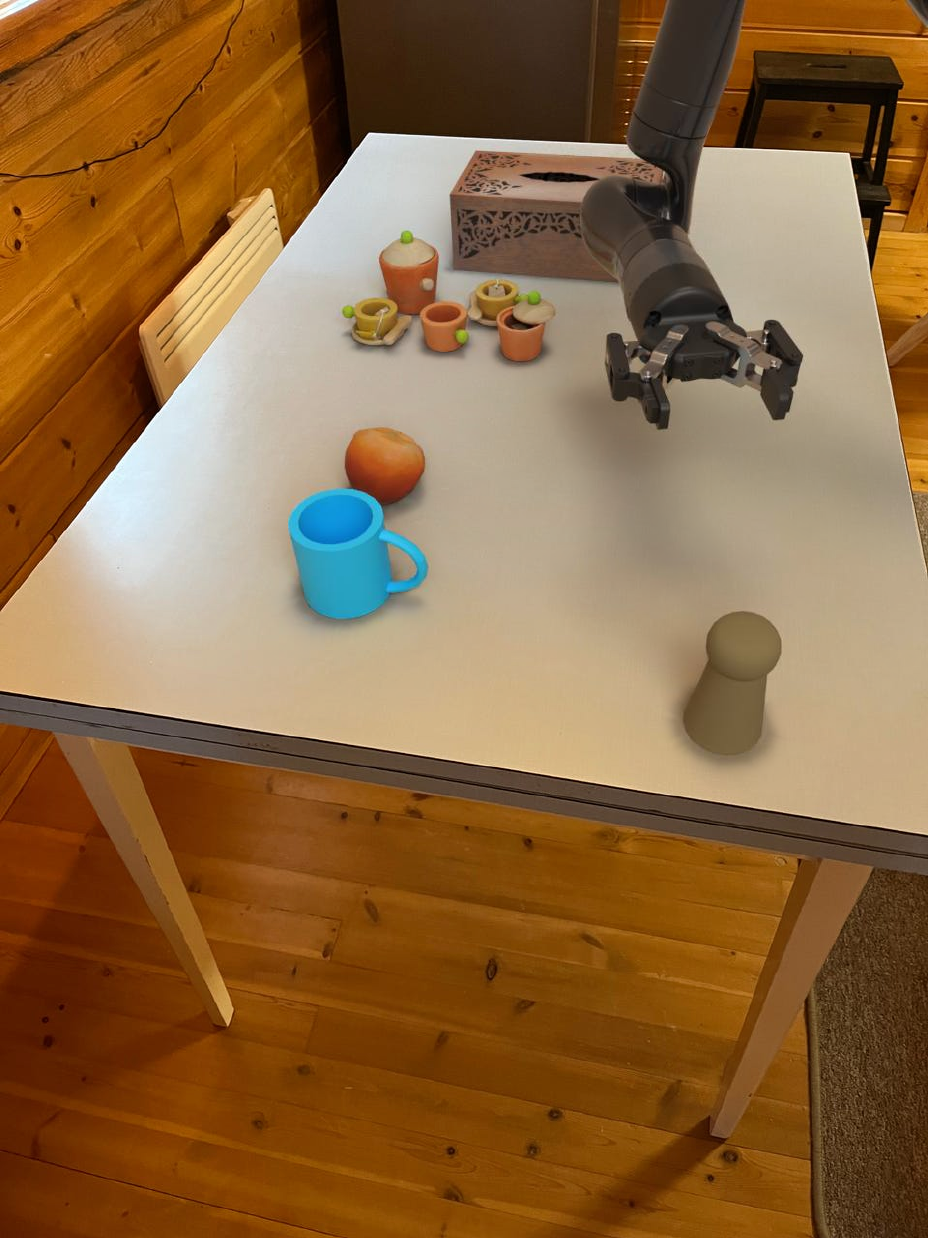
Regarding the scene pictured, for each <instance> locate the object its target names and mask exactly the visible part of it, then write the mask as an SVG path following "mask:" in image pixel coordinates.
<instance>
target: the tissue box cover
mask: <svg viewBox="0 0 928 1238" xmlns="http://www.w3.org/2000/svg"><path fill="white" fill-rule="evenodd" d="M664 173H665V172H664V171H663V170H662V169H660V168H658V167H656V166H654V165H652V164H650V163H647V162H646V161H644V160H642V159H641V158H633V157H631V158H630V157H613V156H612V157H611V156H592V155H591V156H590V155H574V154H571V155H570V154H555V153H553V154H552V153H534V152H533V153H532V152H516V151H515V152H513V151H493V150H492V151H491V150H474V152H473V154H472V155H471V157H470V159H469V161H468V163H467V164H466V166H465V168H464V170H463V171H462V173H461V174H460V176H459V178H458V180H457V182H456V183H455V185H454V186H453V188H452V190H451V192H450V193H449V207H450V210H449V211H450V226H451V227H450V228H451V245H452V264H453V265H452V266H453V270H458V271H471V272H484V273H497V274H509V275H510V274H511V275H523V276H535V277H536V276H537V277H549V278H563V279H577V280H587V281H601V282H613V283H615V282H616V283H619V282H618V280H617V279H616V278H615V277H613V276H612V275H610V274H609V273H608V272H607V271H606V270H605V269H604V268H603V267H602V266H601V265H600V264H599V263H598V262H597V261H596V260H595V259H594V258H593V257H592V256H591V255H590V253H589V252H588V250H587V249H586V247H585V245H584V243H583V240H582V237H581V233H580V227H579V212H580V207H581V204H582V200H583V198H584V196H585V194H586V192H587V191H588V189H589V188H590V187H591V186H592V185H593V184H594V183H595V182H596V181H598V180H599V179H601V178H603V177H606V176H612V175H616V176H624V177H629V178H634V179H639V180H645V181H650V182H655V183H661V182H662V180H663V178H664Z"/></svg>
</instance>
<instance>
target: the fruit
mask: <svg viewBox="0 0 928 1238" xmlns="http://www.w3.org/2000/svg"><path fill="white" fill-rule="evenodd" d="M425 469H426V457H425V454H424V449H423V448H422V447H421V446H420V445H419V444H417V442H416V441H415V440H414V438H413V437H411V436H410V435H407V434H406V433H403V432H402V431H398V430H395V429H393V428H389V427H381V426H379V427H378V426H377V427H371V428H365V429H359V430H357V431H356V432H354V433H353V435H352V438H351V439H350V442H349V444H348V446H347V448H346V451H345V454H344V471H345V474H346V477H347V480H348V483H349V485H350V487H351V489H353V490H357V491H361V492H365V493H366V494H368V495H370V496H372V497H373V498H375V499H376V501H377V502H378V503H379V504H380V505H381V506H382V505H388V504H392V503H397V502H399V501H401V500H402V499H404V498H405V497H406V496H407V495H409V494H410V493H411V492H412V491H413V490H414V488H415V487H416V486H417V484H418V483H419V481H420V480H421V478H422V475H423V474H424V472H425Z"/></svg>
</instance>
